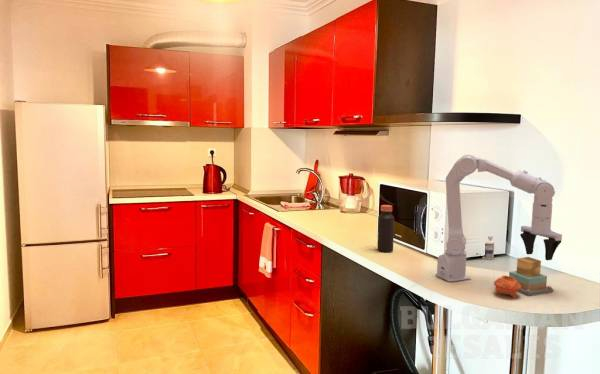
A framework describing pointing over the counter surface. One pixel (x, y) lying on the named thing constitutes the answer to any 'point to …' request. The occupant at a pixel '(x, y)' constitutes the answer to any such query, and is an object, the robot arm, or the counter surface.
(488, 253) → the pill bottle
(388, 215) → the black water bottle
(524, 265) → the ochre brick
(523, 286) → the teal block with base
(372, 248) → the counter surface
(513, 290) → the orange rounded lump
